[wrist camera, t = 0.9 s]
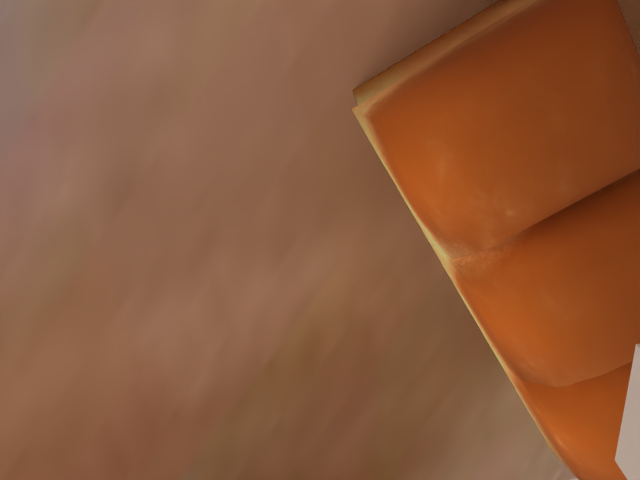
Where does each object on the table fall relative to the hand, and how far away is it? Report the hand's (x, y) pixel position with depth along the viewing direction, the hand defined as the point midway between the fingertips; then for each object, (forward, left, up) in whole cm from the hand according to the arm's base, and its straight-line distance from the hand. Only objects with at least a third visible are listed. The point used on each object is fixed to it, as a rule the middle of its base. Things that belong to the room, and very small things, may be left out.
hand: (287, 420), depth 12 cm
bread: (+15, +3, -29) cm, 33 cm away
